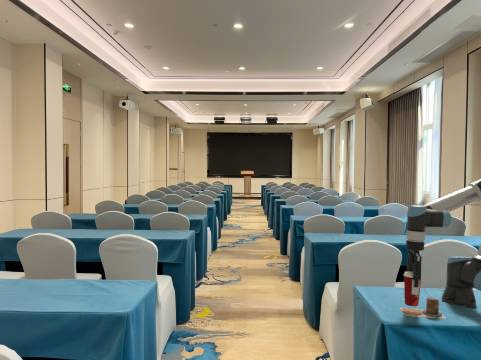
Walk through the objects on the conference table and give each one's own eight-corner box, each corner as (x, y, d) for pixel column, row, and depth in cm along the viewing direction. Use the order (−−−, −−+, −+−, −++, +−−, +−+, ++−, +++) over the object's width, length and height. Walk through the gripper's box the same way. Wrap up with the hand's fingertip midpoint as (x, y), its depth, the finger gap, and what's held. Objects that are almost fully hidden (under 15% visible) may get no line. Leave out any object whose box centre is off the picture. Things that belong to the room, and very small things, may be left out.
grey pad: (438, 311, 200) (438, 310, 199) (444, 317, 192) (444, 316, 192) (420, 310, 201) (420, 309, 201) (425, 316, 193) (425, 314, 193)
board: (438, 313, 201) (438, 310, 201) (446, 321, 190) (446, 318, 190) (399, 310, 203) (399, 307, 203) (404, 318, 192) (404, 315, 192)
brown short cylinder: (436, 311, 198) (437, 297, 198) (439, 315, 193) (440, 301, 193) (424, 310, 199) (425, 297, 199) (427, 314, 194) (428, 300, 194)
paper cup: (422, 307, 192) (423, 275, 192) (403, 306, 194) (405, 274, 194) (418, 302, 200) (420, 271, 200) (400, 301, 201) (402, 270, 201)
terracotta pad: (418, 310, 201) (418, 309, 201) (423, 315, 193) (423, 314, 193) (400, 308, 202) (400, 307, 202) (404, 314, 194) (404, 313, 194)
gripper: (401, 236, 207) (398, 285, 208) (412, 243, 186) (409, 297, 187) (418, 237, 206) (415, 286, 207) (431, 245, 185) (428, 299, 186)
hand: (412, 291), depth 197 cm, fingers closed on paper cup, 8 cm apart
